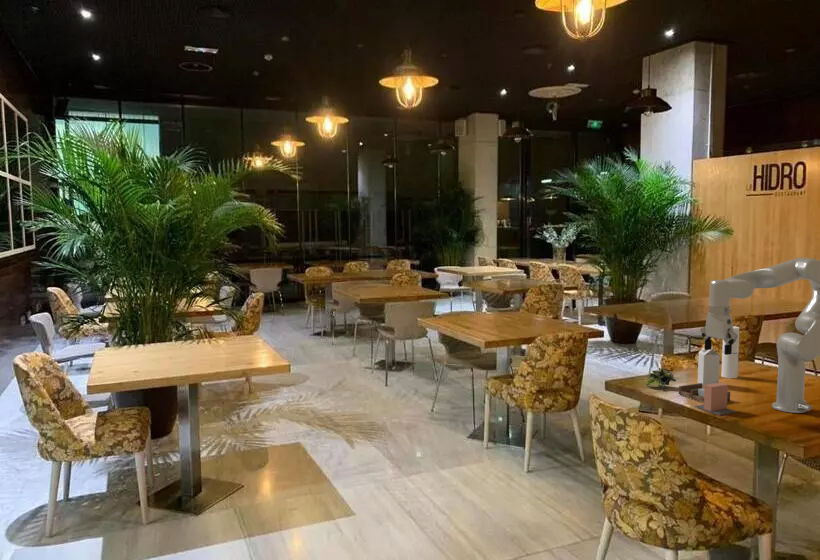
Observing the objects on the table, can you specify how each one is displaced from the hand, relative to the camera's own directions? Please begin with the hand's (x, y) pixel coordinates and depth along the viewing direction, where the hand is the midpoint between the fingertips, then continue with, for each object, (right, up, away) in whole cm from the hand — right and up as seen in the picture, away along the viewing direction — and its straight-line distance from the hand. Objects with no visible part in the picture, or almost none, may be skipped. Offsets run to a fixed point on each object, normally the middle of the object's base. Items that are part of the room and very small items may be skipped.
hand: (717, 351), depth 253 cm
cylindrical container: (+33, -19, +55) cm, 67 cm away
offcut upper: (+5, -21, +16) cm, 27 cm away
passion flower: (-9, -21, +36) cm, 43 cm away
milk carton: (+16, -21, +41) cm, 48 cm away
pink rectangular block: (0, -24, +2) cm, 24 cm away
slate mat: (0, -24, +2) cm, 24 cm away
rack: (+4, -22, +20) cm, 30 cm away
